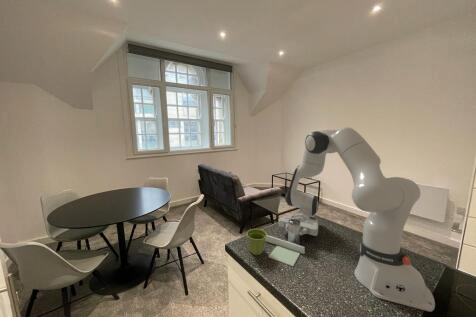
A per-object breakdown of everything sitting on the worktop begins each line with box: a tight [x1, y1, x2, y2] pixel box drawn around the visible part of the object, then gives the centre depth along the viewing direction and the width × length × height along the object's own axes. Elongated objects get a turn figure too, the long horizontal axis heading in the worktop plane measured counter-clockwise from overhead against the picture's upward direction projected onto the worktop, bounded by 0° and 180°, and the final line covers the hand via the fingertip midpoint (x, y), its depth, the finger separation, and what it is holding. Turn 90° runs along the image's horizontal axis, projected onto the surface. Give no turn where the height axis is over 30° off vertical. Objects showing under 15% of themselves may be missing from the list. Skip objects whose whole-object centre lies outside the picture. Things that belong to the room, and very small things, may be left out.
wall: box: [265, 234, 306, 255], centre depth 94 cm, size 20×1×3 cm, turn 57°
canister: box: [287, 219, 301, 245], centre depth 97 cm, size 6×6×11 cm
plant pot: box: [246, 228, 268, 256], centre depth 90 cm, size 9×9×9 cm
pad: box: [268, 245, 301, 267], centre depth 87 cm, size 11×10×1 cm
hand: (293, 231), depth 97 cm, fingers closed on canister, 6 cm apart
